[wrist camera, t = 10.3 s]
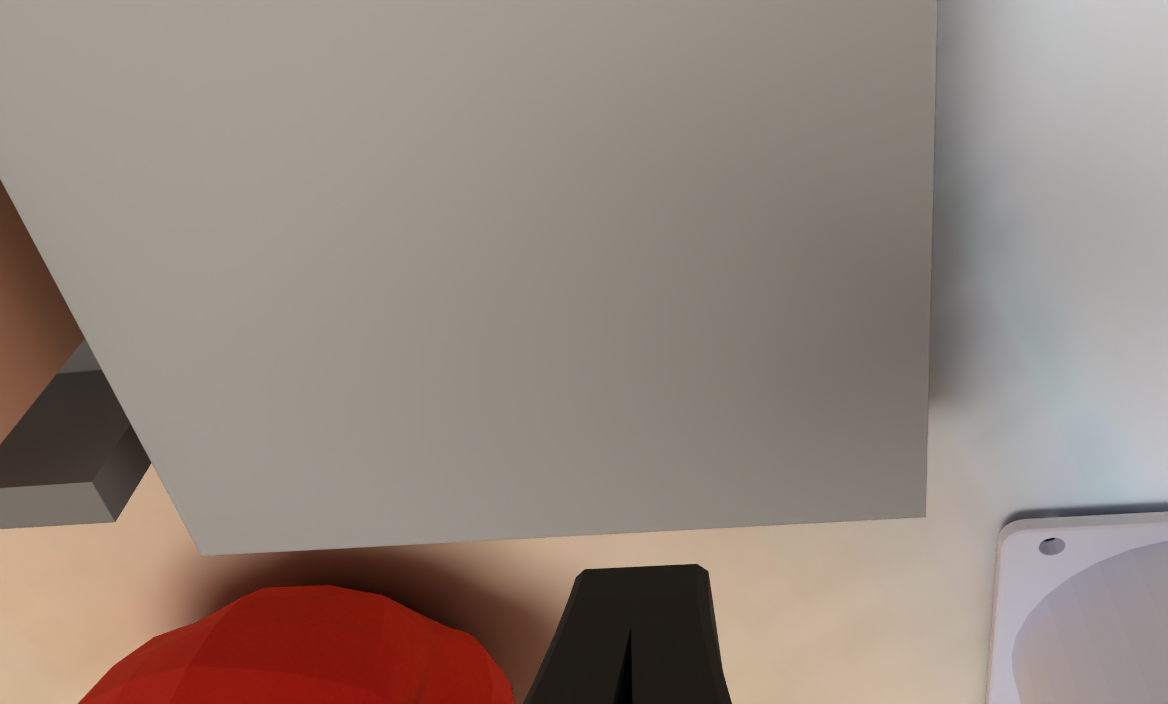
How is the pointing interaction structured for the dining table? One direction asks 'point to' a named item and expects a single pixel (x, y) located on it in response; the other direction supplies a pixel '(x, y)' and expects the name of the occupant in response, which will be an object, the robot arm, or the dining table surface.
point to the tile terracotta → (28, 320)
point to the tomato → (308, 656)
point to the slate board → (491, 256)
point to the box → (70, 453)
